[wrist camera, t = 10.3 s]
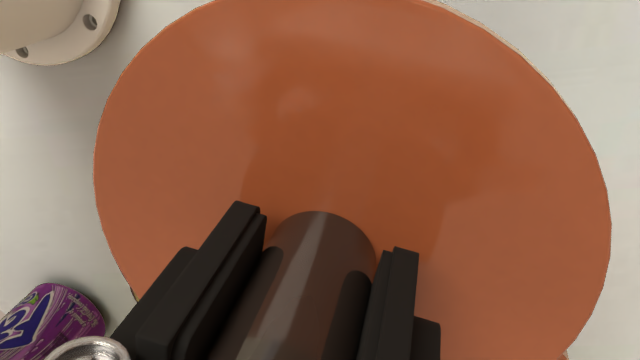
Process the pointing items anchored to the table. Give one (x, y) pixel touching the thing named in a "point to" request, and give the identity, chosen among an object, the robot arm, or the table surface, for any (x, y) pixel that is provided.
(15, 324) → the beverage can
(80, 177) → the table surface
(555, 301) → the pot lid
